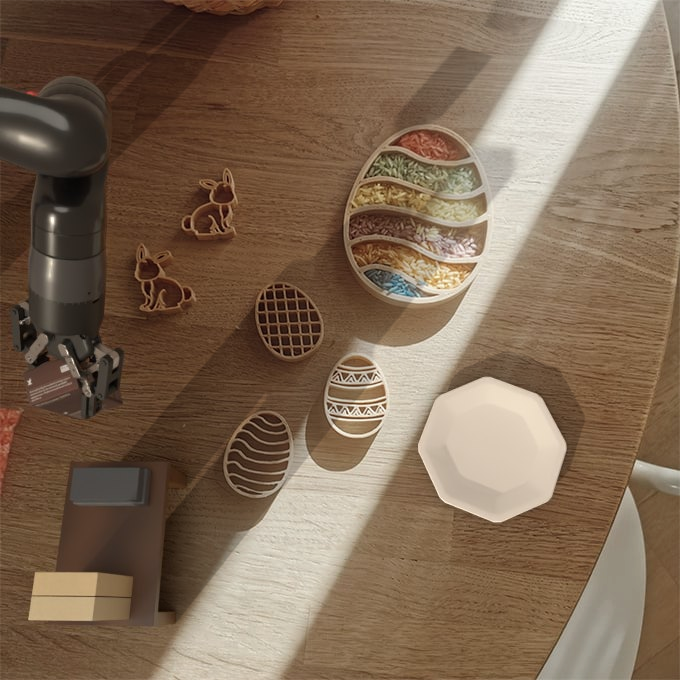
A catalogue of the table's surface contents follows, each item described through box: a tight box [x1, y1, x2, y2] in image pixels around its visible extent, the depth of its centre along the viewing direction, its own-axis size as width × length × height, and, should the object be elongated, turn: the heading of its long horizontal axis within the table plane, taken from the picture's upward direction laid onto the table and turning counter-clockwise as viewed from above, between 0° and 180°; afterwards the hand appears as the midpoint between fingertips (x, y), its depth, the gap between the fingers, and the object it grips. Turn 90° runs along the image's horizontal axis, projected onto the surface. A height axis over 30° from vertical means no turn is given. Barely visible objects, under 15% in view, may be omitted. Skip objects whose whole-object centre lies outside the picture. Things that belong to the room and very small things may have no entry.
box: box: [21, 358, 124, 420], centre depth 86 cm, size 6×4×12 cm
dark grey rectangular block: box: [70, 468, 151, 506], centre depth 92 cm, size 9×4×4 cm, turn 89°
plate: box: [417, 376, 568, 523], centre depth 105 cm, size 20×20×2 cm
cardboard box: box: [27, 571, 133, 621], centre depth 84 cm, size 7×5×12 cm
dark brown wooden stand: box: [47, 461, 188, 627], centre depth 98 cm, size 13×20×12 cm, turn 179°
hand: (64, 399), depth 85 cm, fingers closed on box, 7 cm apart
